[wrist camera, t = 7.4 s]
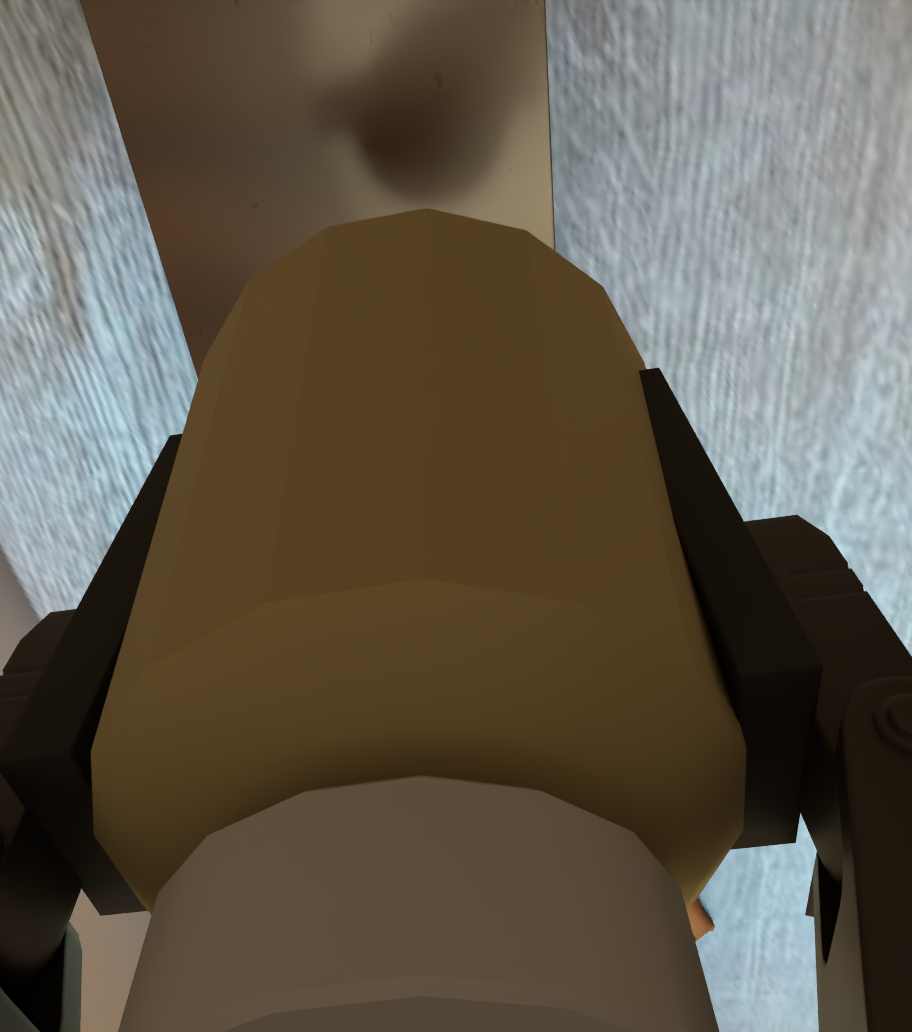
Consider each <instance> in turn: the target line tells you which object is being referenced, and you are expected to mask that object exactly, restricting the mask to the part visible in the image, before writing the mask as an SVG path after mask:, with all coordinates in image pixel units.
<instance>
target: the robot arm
mask: <svg viewBox="0 0 912 1032" xmlns="http://www.w3.org/2000/svg"><path fill="white" fill-rule="evenodd" d="M639 374H640V379H641V383H642V387H643V392H644V396H645V400H646V404H647V409H648V413H649V417H650V421H651V426H652V430H653V434H654V438H655V443H656V447H657V451H658V455H659V460H660V464H661V468H662V472H663V477H664V481H665V485H666V489H667V494H668V498H669V502H670V506H671V511H672V515H673V519H674V523H675V526H676V530H677V533H678V536H679V539H680V542H681V545H682V549H683V552H684V555H685V558H686V561H687V564H688V567H689V571H690V574H691V577H692V580H693V583H694V586H695V589H696V593H697V596H698V599H699V602H700V605H701V608H702V611H703V615H704V618H705V621H706V624H707V627H708V630H709V633H710V637H711V640H712V643H713V646H714V649H715V652H716V655H717V659H718V662H719V665H720V668H721V671H722V674H723V677H724V681H725V684H726V687H727V690H728V693H729V696H730V700H731V703H732V706H733V709H734V712H735V715H736V718H737V720H738V721H739V723H740V725H741V729H742V733H743V737H744V740H745V744H746V748H747V751H746V777H745V803H744V828H743V831H742V833H741V834H740V836H739V837H738V839H737V840H736V842H735V843H734V845H733V846H732V848H731V849H740V848H750V847H759V846H769V845H778V844H788V843H796V837H797V831H798V824H799V818H800V812H801V815H802V817H803V819H804V822H805V824H806V826H807V829H808V831H809V833H810V836H811V838H812V840H813V843H814V845H815V847H816V849H817V854H816V859H815V865H814V870H813V875H812V881H811V886H810V892H809V897H808V903H807V908H806V914H805V915H807V916H812V917H814V924H815V948H816V973H817V997H818V1021H819V1032H912V656H911V655H910V653H909V652H908V651H907V649H906V648H905V646H904V645H903V643H902V642H901V640H900V639H899V637H898V636H897V634H896V633H895V632H894V630H893V629H892V627H891V626H890V624H889V623H888V621H887V620H886V618H885V617H884V615H883V614H882V613H881V611H880V610H879V608H878V607H877V605H876V604H875V602H874V601H873V599H872V598H871V596H870V595H869V594H868V592H867V591H865V592H864V590H863V585H862V583H861V582H860V580H859V579H858V577H857V576H856V575H855V573H854V572H853V570H852V569H849V568H848V563H847V561H846V560H845V558H844V557H843V556H842V554H841V553H840V551H839V550H838V548H837V547H836V545H835V544H834V542H833V541H832V539H831V538H830V536H828V535H827V534H825V533H824V532H822V531H821V530H819V529H818V528H816V527H815V526H813V525H812V524H810V523H809V522H807V521H806V520H804V519H803V518H801V517H800V516H798V515H792V516H784V517H776V518H768V519H761V520H753V521H745V522H744V521H743V519H742V517H741V516H740V514H739V512H738V510H737V508H736V507H735V505H734V503H733V501H732V499H731V497H730V496H729V494H728V492H727V490H726V488H725V487H724V485H723V483H722V481H721V479H720V477H719V476H718V474H717V472H716V470H715V468H714V467H713V465H712V463H711V461H710V459H709V458H708V456H707V454H706V452H705V450H704V448H703V447H702V445H701V443H700V441H699V439H698V438H697V436H696V434H695V432H694V430H693V428H692V427H691V425H690V423H689V421H688V419H687V418H686V416H685V414H684V412H683V410H682V409H681V407H680V405H679V403H678V401H677V399H676V398H675V396H674V394H673V392H672V390H671V389H670V387H669V385H668V383H667V381H666V379H665V378H664V376H663V374H662V372H661V370H660V369H659V368H654V369H646V370H639ZM181 438H182V434H178V435H170V436H169V438H168V440H167V442H166V444H165V446H164V448H163V449H162V451H161V453H160V455H159V457H158V459H157V461H156V462H155V464H154V466H153V468H152V470H151V472H150V474H149V475H148V477H147V479H146V481H145V483H144V485H143V487H142V488H141V490H140V492H139V494H138V496H137V498H136V500H135V501H134V503H133V505H132V507H131V509H130V511H129V513H128V514H127V516H126V518H125V520H124V522H123V524H122V526H121V527H120V529H119V531H118V533H117V535H116V537H115V539H114V540H113V542H112V544H111V546H110V548H109V550H108V552H107V553H106V555H105V557H104V559H103V561H102V563H101V565H100V566H99V568H98V570H97V572H96V574H95V576H94V578H93V579H92V581H91V583H90V585H89V587H88V589H87V591H86V592H85V594H84V596H83V598H82V600H81V602H80V604H79V605H78V607H77V609H73V610H65V611H57V612H50V613H49V614H48V615H47V616H46V617H45V618H44V619H43V620H42V621H41V622H40V623H38V624H37V625H36V626H35V627H34V628H33V629H32V630H31V631H30V632H29V633H28V634H27V635H26V636H24V637H23V638H22V639H21V640H20V642H19V644H18V645H17V647H16V649H15V650H14V652H13V654H12V656H11V657H10V659H9V660H8V662H7V664H6V665H5V667H4V669H3V676H0V1032H80V1019H81V1016H80V1015H81V976H82V949H81V944H80V940H79V935H78V933H77V931H76V930H75V929H74V927H73V926H72V925H71V923H70V922H69V920H70V917H71V914H72V912H73V909H74V906H75V903H76V901H77V898H78V895H79V893H80V890H81V888H82V889H83V891H84V892H85V894H86V895H87V897H88V898H89V899H90V901H91V902H92V904H93V905H94V907H95V908H96V910H97V911H98V912H99V914H100V915H112V914H121V913H130V912H140V911H148V910H147V909H146V908H145V907H144V906H143V905H142V903H141V902H140V900H139V899H138V897H137V896H136V895H135V893H134V892H133V890H132V889H131V888H130V886H129V885H128V883H127V882H126V880H125V879H124V878H123V876H122V875H121V873H120V872H119V870H118V869H117V868H116V866H115V865H114V863H113V862H112V861H111V859H110V858H109V856H108V855H107V853H106V852H105V851H104V849H103V848H102V846H101V845H100V843H99V842H98V841H97V839H96V838H95V836H94V825H93V798H92V770H91V749H92V746H93V742H94V739H95V735H96V732H97V729H98V725H99V722H100V718H101V715H102V711H103V708H104V704H105V701H106V697H107V694H108V691H109V687H110V684H111V680H112V677H113V673H114V670H115V666H116V663H117V659H118V656H119V652H120V649H121V646H122V642H123V639H124V635H125V632H126V628H127V625H128V621H129V618H130V614H131V611H132V607H133V604H134V601H135V597H136V594H137V590H138V587H139V583H140V580H141V576H142V573H143V569H144V566H145V562H146V559H147V556H148V552H149V549H150V545H151V542H152V538H153V535H154V531H155V528H156V524H157V521H158V518H159V514H160V511H161V507H162V504H163V500H164V497H165V493H166V490H167V486H168V483H169V479H170V476H171V473H172V469H173V466H174V462H175V459H176V455H177V452H178V448H179V445H180V441H181ZM731 849H730V850H731Z"/></svg>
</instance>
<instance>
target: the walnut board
mask: <svg viewBox="0 0 912 1032" xmlns="http://www.w3.org/2000/svg"><path fill="white" fill-rule="evenodd" d="M80 3H81V6H82V9H83V12H84V15H85V19H86V22H87V25H88V28H89V31H90V35H91V38H92V41H93V44H94V47H95V51H96V54H97V57H98V60H99V63H100V67H101V70H102V73H103V76H104V80H105V83H106V86H107V89H108V92H109V96H110V99H111V102H112V105H113V108H114V112H115V115H116V118H117V121H118V124H119V128H120V131H121V134H122V137H123V140H124V144H125V147H126V150H127V153H128V156H129V160H130V163H131V166H132V169H133V172H134V176H135V179H136V182H137V185H138V188H139V192H140V195H141V198H142V201H143V204H144V208H145V211H146V214H147V217H148V220H149V224H150V227H151V230H152V233H153V236H154V240H155V243H156V246H157V249H158V252H159V256H160V259H161V262H162V265H163V268H164V272H165V275H166V278H167V281H168V284H169V288H170V291H171V294H172V297H173V300H174V304H175V307H176V310H177V313H178V316H179V320H180V323H181V326H182V329H183V332H184V336H185V339H186V342H187V345H188V348H189V352H190V355H191V358H192V361H193V364H194V368H195V371H196V374H197V377H198V379H199V376H200V372H201V369H202V365H203V362H204V358H205V356H206V354H207V353H208V351H209V349H210V347H211V346H212V344H213V342H214V340H215V339H216V337H217V335H218V333H219V332H220V330H221V328H222V326H223V325H224V323H225V321H226V319H227V317H228V316H229V314H230V312H231V310H232V309H233V307H234V305H235V303H236V302H237V300H238V298H239V296H240V295H241V293H242V291H243V289H244V288H245V286H246V284H247V282H248V281H249V280H251V279H252V278H254V277H255V276H257V275H258V274H259V273H261V272H262V271H264V270H265V269H267V268H268V267H270V266H271V265H272V264H274V263H275V262H277V261H278V260H280V259H281V258H283V257H284V256H285V255H287V254H288V253H290V252H291V251H293V250H294V249H296V248H297V247H298V246H300V245H301V244H303V243H304V242H306V241H307V240H308V239H310V238H311V237H313V236H314V235H316V234H317V233H319V232H320V231H321V230H323V229H324V228H326V227H328V226H334V225H339V224H344V223H350V222H355V221H360V220H366V219H371V218H376V217H382V216H387V215H392V214H398V213H403V212H408V211H413V210H419V209H424V208H430V209H434V210H439V211H443V212H447V213H452V214H456V215H461V216H465V217H470V218H474V219H479V220H483V221H488V222H492V223H497V224H501V225H505V226H510V227H514V228H519V229H523V230H527V231H528V232H530V233H531V234H532V235H534V236H535V237H536V238H538V239H539V240H540V241H542V242H543V243H544V244H546V245H547V246H549V247H550V248H551V249H553V250H554V251H555V230H554V205H553V181H552V156H551V132H550V107H549V83H548V58H547V34H546V9H545V0H80Z"/></svg>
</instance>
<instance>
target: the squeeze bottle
mask: <svg viewBox="0 0 912 1032" xmlns="http://www.w3.org/2000/svg"><path fill="white" fill-rule="evenodd" d="M639 370H646V367H645V364H644V361H643V359H642V357H641V356H640V354H639V352H638V350H637V348H636V346H635V345H634V343H633V341H632V339H631V337H630V335H629V334H628V332H627V330H626V328H625V326H624V324H623V323H622V321H621V319H620V317H619V315H618V313H617V311H616V310H615V308H614V306H613V304H612V302H611V300H610V299H609V297H608V295H607V293H606V291H605V289H604V288H603V286H601V285H600V284H599V283H597V282H596V281H595V280H593V279H592V278H591V277H589V276H588V275H586V274H585V273H584V272H582V271H581V270H580V269H578V268H577V267H576V266H574V265H573V264H572V263H570V262H569V261H567V260H566V259H565V258H563V257H562V256H561V255H559V254H558V253H557V252H555V251H554V250H553V249H551V248H550V247H549V246H547V245H546V244H544V243H543V242H542V241H540V240H539V239H538V238H536V237H535V236H534V235H532V234H531V233H530V232H528V231H527V230H523V229H519V228H514V227H510V226H505V225H501V224H497V223H492V222H488V221H483V220H479V219H474V218H470V217H465V216H461V215H456V214H452V213H447V212H443V211H439V210H434V209H430V208H424V209H419V210H413V211H408V212H403V213H398V214H392V215H387V216H382V217H376V218H371V219H366V220H360V221H355V222H350V223H344V224H339V225H334V226H328V227H326V228H324V229H323V230H321V231H320V232H319V233H317V234H316V235H314V236H313V237H311V238H310V239H308V240H307V241H306V242H304V243H303V244H301V245H300V246H298V247H297V248H296V249H294V250H293V251H291V252H290V253H288V254H287V255H285V256H284V257H283V258H281V259H280V260H278V261H277V262H275V263H274V264H272V265H271V266H270V267H268V268H267V269H265V270H264V271H262V272H261V273H259V274H258V275H257V276H255V277H254V278H252V279H251V280H249V281H248V282H247V284H246V286H245V288H244V289H243V291H242V293H241V295H240V296H239V298H238V300H237V302H236V303H235V305H234V307H233V309H232V310H231V312H230V314H229V316H228V317H227V319H226V321H225V323H224V325H223V326H222V328H221V330H220V332H219V333H218V335H217V337H216V339H215V340H214V342H213V344H212V346H211V347H210V349H209V351H208V353H207V354H206V356H205V358H204V362H203V365H202V369H201V372H200V376H199V379H198V383H197V386H196V390H195V393H194V396H193V400H192V403H191V407H190V410H189V414H188V417H187V421H186V424H185V428H184V431H183V434H182V438H181V441H180V445H179V448H178V452H177V455H176V459H175V462H174V466H173V469H172V473H171V476H170V479H169V483H168V486H167V490H166V493H165V497H164V500H163V504H162V507H161V511H160V514H159V518H158V521H157V524H156V528H155V531H154V535H153V538H152V542H151V545H150V549H149V552H148V556H147V559H146V562H145V566H144V569H143V573H142V576H141V580H140V583H139V587H138V590H137V594H136V597H135V601H134V604H133V607H132V611H131V614H130V618H129V621H128V625H127V628H126V632H125V635H124V639H123V642H122V646H121V649H120V652H119V656H118V659H117V663H116V666H115V670H114V673H113V677H112V680H111V684H110V687H109V691H108V694H107V697H106V701H105V704H104V708H103V711H102V715H101V718H100V722H99V725H98V729H97V732H96V735H95V739H94V742H93V746H92V749H91V770H92V798H93V825H94V836H95V838H96V839H97V841H98V842H99V843H100V845H101V846H102V848H103V849H104V851H105V852H106V853H107V855H108V856H109V858H110V859H111V861H112V862H113V863H114V865H115V866H116V868H117V869H118V870H119V872H120V873H121V875H122V876H123V878H124V879H125V880H126V882H127V883H128V885H129V886H130V888H131V889H132V890H133V892H134V893H135V895H136V896H137V897H138V899H139V900H140V902H141V903H142V905H143V906H144V907H145V908H146V909H147V910H148V911H149V912H150V914H151V915H152V916H151V920H150V923H149V927H148V930H147V933H146V937H145V941H144V944H143V947H142V951H141V954H140V957H139V961H138V964H137V968H136V972H135V975H134V979H133V982H132V985H131V989H130V992H129V995H128V999H127V1003H126V1006H125V1009H124V1013H123V1016H122V1020H121V1023H120V1027H119V1031H118V1032H719V1029H718V1025H717V1021H716V1018H715V1014H714V1010H713V1006H712V1003H711V999H710V995H709V992H708V988H707V984H706V980H705V977H704V973H703V969H702V965H701V962H700V958H699V954H698V950H697V947H696V943H695V939H694V936H693V932H692V928H691V924H690V921H689V917H688V913H687V909H688V908H689V907H690V906H691V905H692V904H693V902H694V901H695V900H696V899H697V898H698V896H699V895H700V893H701V892H702V890H703V889H704V887H705V886H706V884H707V883H708V881H709V880H710V878H711V877H712V875H713V874H714V873H715V871H716V870H717V868H718V867H719V865H720V864H721V862H722V861H723V859H724V858H725V856H726V855H727V853H728V852H729V850H730V849H731V848H732V846H733V845H734V843H735V842H736V840H737V839H738V837H739V836H740V834H741V833H742V831H743V828H744V803H745V777H746V751H747V748H746V744H745V740H744V737H743V733H742V729H741V725H740V723H739V721H738V720H737V718H736V715H735V712H734V709H733V706H732V703H731V700H730V696H729V693H728V690H727V687H726V684H725V681H724V677H723V674H722V671H721V668H720V665H719V662H718V659H717V655H716V652H715V649H714V646H713V643H712V640H711V637H710V633H709V630H708V627H707V624H706V621H705V618H704V615H703V611H702V608H701V605H700V602H699V599H698V596H697V593H696V589H695V586H694V583H693V580H692V577H691V574H690V571H689V567H688V564H687V561H686V558H685V555H684V552H683V549H682V545H681V542H680V539H679V536H678V533H677V530H676V526H675V523H674V519H673V515H672V511H671V506H670V502H669V498H668V494H667V489H666V485H665V481H664V477H663V472H662V468H661V464H660V460H659V455H658V451H657V447H656V443H655V438H654V434H653V430H652V426H651V421H650V417H649V413H648V409H647V404H646V400H645V396H644V392H643V387H642V383H641V379H640V374H639Z"/></svg>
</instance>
